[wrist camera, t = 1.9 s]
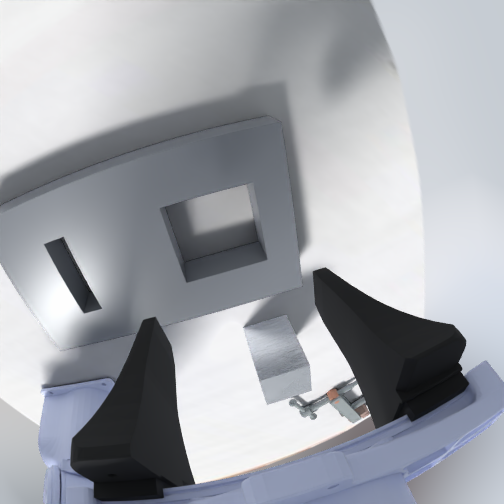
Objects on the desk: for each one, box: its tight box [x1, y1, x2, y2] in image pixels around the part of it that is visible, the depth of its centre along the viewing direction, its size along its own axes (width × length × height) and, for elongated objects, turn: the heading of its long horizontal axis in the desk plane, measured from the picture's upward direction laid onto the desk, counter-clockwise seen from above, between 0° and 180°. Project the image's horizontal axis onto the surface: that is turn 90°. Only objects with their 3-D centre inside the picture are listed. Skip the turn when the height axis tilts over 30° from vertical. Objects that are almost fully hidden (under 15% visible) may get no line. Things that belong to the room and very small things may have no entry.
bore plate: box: [0, 116, 303, 351], centre depth 20 cm, size 20×12×2 cm, turn 101°
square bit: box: [243, 315, 311, 405], centre depth 27 cm, size 4×4×6 cm
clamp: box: [289, 380, 370, 423], centre depth 40 cm, size 15×2×10 cm
